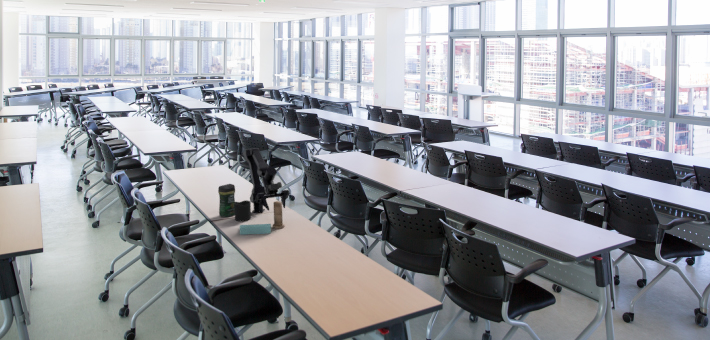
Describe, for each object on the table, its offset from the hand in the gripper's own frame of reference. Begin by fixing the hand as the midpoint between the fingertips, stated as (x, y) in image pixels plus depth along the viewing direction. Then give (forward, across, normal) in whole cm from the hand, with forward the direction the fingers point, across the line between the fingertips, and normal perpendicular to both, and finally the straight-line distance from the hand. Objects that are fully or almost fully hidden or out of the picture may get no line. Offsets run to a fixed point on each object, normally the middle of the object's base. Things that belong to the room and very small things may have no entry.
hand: (276, 209), depth 299 cm
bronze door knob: (+8, 0, +6) cm, 10 cm away
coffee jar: (-17, -18, +31) cm, 39 cm away
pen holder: (-8, -13, +22) cm, 27 cm away
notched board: (+8, -13, +6) cm, 16 cm away
